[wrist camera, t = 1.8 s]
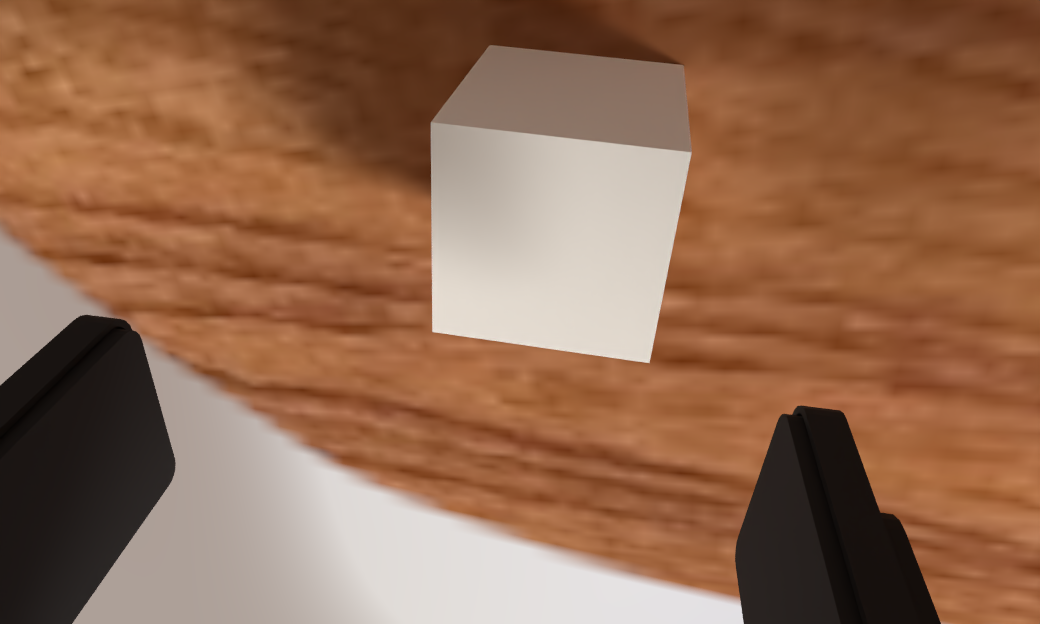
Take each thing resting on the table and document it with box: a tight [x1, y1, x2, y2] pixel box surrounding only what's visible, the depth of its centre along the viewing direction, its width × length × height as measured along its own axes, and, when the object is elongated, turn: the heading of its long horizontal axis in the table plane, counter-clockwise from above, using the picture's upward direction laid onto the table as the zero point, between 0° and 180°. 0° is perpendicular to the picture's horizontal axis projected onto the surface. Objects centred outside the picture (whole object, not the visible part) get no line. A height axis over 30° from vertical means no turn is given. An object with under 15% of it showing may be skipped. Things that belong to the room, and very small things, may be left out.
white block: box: [431, 45, 692, 363], centre depth 18 cm, size 5×5×6 cm
